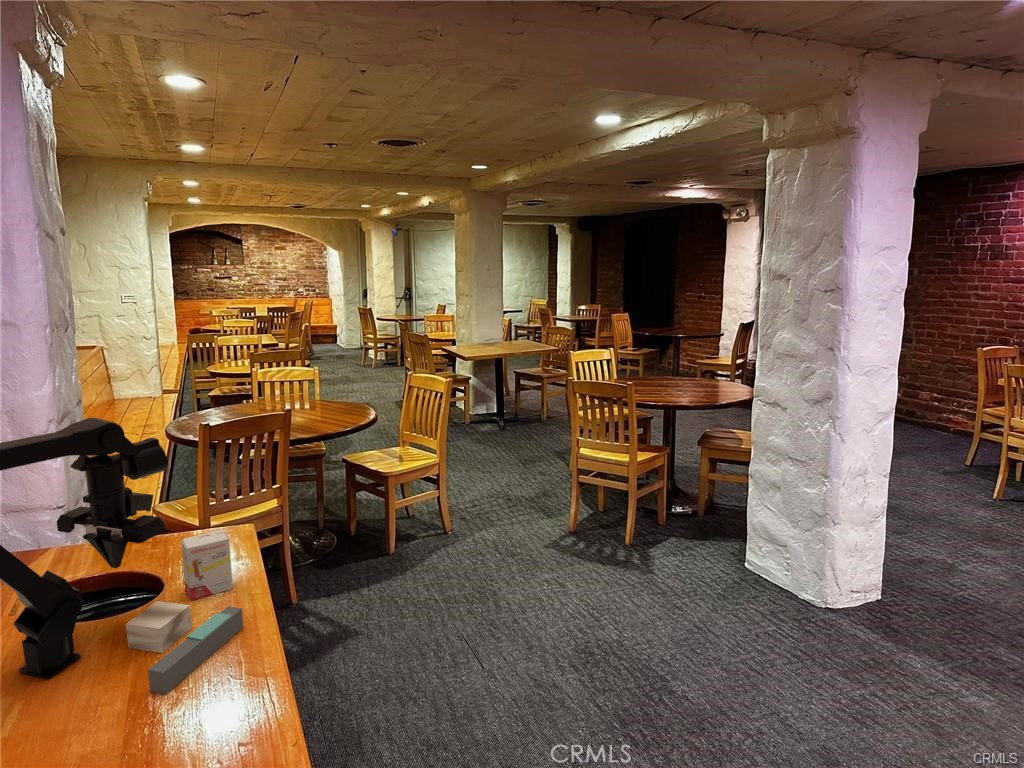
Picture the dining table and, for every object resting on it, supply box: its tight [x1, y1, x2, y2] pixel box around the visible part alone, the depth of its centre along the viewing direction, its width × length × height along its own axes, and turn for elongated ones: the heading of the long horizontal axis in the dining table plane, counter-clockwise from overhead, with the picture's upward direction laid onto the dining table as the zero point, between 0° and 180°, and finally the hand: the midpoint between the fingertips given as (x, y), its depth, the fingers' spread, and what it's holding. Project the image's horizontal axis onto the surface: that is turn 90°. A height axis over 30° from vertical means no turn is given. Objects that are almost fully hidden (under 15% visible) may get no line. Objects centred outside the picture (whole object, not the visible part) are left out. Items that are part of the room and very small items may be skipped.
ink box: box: [181, 530, 234, 601], centre depth 139 cm, size 9×5×12 cm, turn 127°
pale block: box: [125, 600, 193, 654], centre depth 123 cm, size 8×7×5 cm
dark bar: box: [147, 606, 244, 695], centre depth 118 cm, size 20×3×4 cm, turn 165°
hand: (115, 567), depth 123 cm, fingers closed
